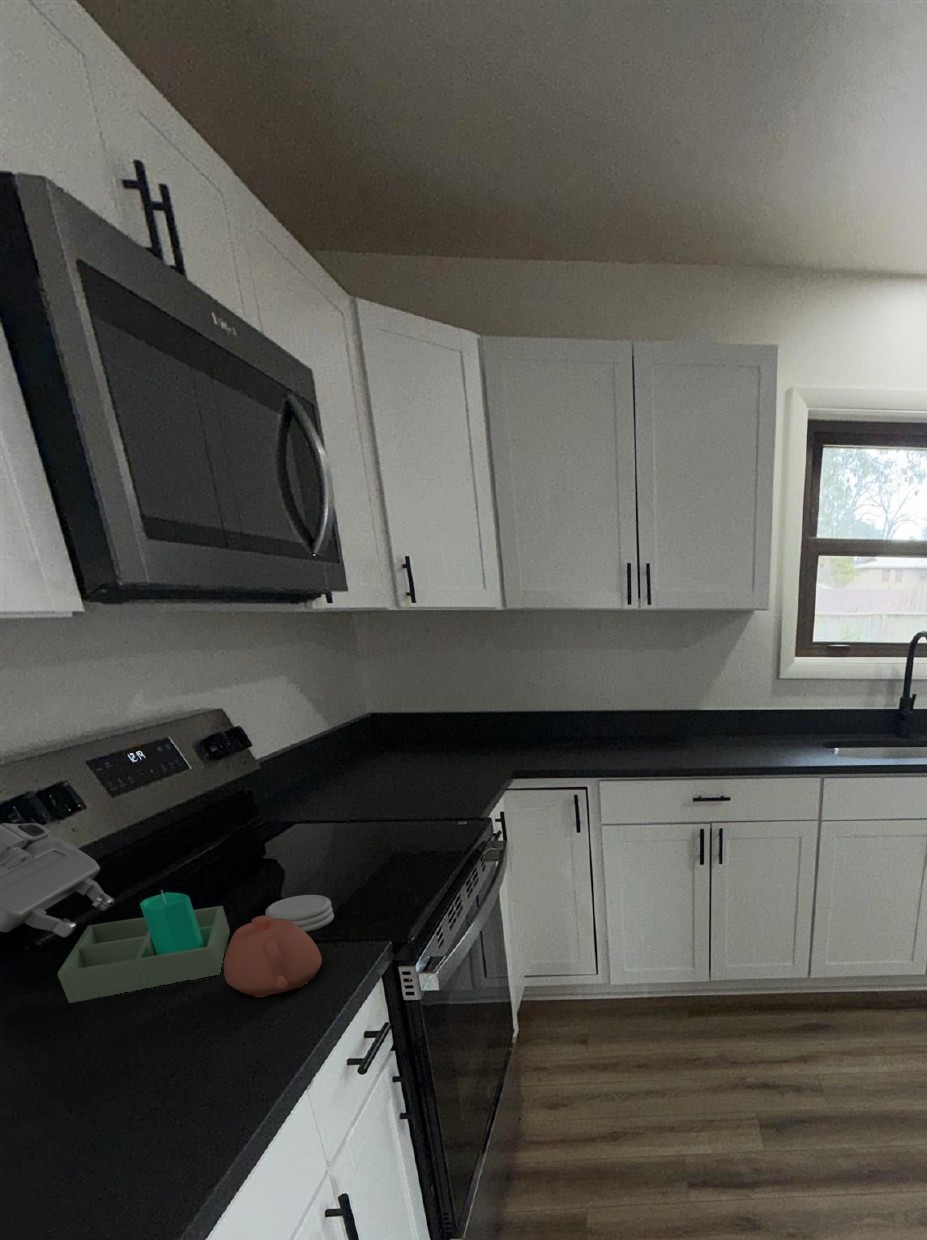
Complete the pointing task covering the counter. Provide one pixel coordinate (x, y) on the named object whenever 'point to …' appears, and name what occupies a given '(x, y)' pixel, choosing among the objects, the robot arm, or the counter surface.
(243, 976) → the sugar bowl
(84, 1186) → the counter surface
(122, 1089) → the counter surface
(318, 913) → the grey round flat stack
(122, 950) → the grid
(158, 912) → the candle
